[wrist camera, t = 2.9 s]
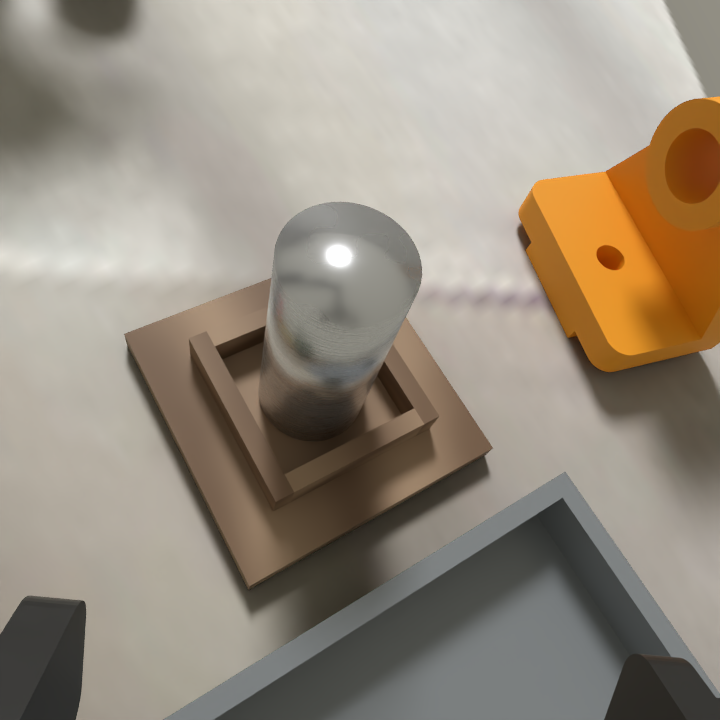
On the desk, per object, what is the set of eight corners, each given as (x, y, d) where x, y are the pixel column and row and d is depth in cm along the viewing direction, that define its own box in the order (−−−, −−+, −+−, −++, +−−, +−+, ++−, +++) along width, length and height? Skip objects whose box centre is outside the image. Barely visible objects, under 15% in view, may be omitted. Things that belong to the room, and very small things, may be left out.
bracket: (507, 214, 37) (618, 25, 27) (612, 199, 39) (754, 19, 29) (588, 382, 33) (758, 238, 23) (701, 355, 35) (904, 212, 25)
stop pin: (289, 459, 27) (321, 350, 19) (240, 370, 29) (247, 228, 20) (381, 413, 29) (449, 293, 20) (330, 331, 31) (373, 185, 22)
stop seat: (248, 589, 26) (250, 580, 24) (126, 344, 29) (119, 316, 27) (484, 455, 30) (505, 436, 28) (354, 256, 34) (363, 226, 32)
